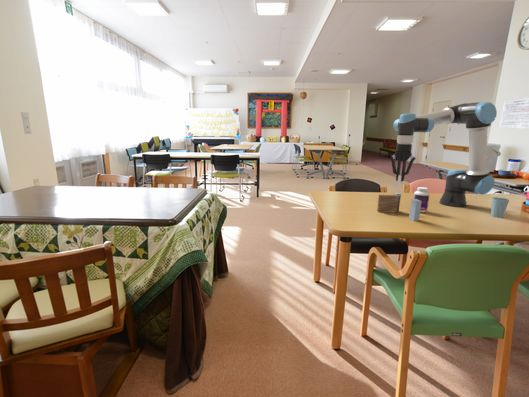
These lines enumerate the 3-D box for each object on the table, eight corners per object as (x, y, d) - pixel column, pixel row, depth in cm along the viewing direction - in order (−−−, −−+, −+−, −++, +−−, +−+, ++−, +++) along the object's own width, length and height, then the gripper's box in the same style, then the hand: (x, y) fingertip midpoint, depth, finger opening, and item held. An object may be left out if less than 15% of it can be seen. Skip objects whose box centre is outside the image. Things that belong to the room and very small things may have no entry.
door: (398, 212, 173) (401, 195, 171) (377, 211, 174) (379, 195, 171) (397, 211, 175) (399, 194, 173) (376, 210, 176) (378, 194, 174)
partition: (396, 210, 177) (398, 192, 175) (418, 220, 158) (421, 201, 156) (391, 210, 177) (393, 192, 174) (413, 220, 158) (416, 201, 155)
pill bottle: (428, 213, 172) (432, 189, 169) (414, 212, 174) (417, 188, 171) (424, 209, 180) (427, 187, 177) (410, 209, 182) (413, 186, 178)
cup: (506, 216, 170) (510, 199, 167) (504, 219, 164) (508, 201, 162) (490, 213, 175) (493, 196, 172) (487, 216, 170) (491, 198, 167)
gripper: (419, 143, 156) (413, 187, 161) (393, 142, 163) (388, 184, 169) (416, 144, 150) (410, 189, 155) (389, 143, 157) (384, 186, 163)
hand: (399, 186), depth 162 cm, fingers closed
